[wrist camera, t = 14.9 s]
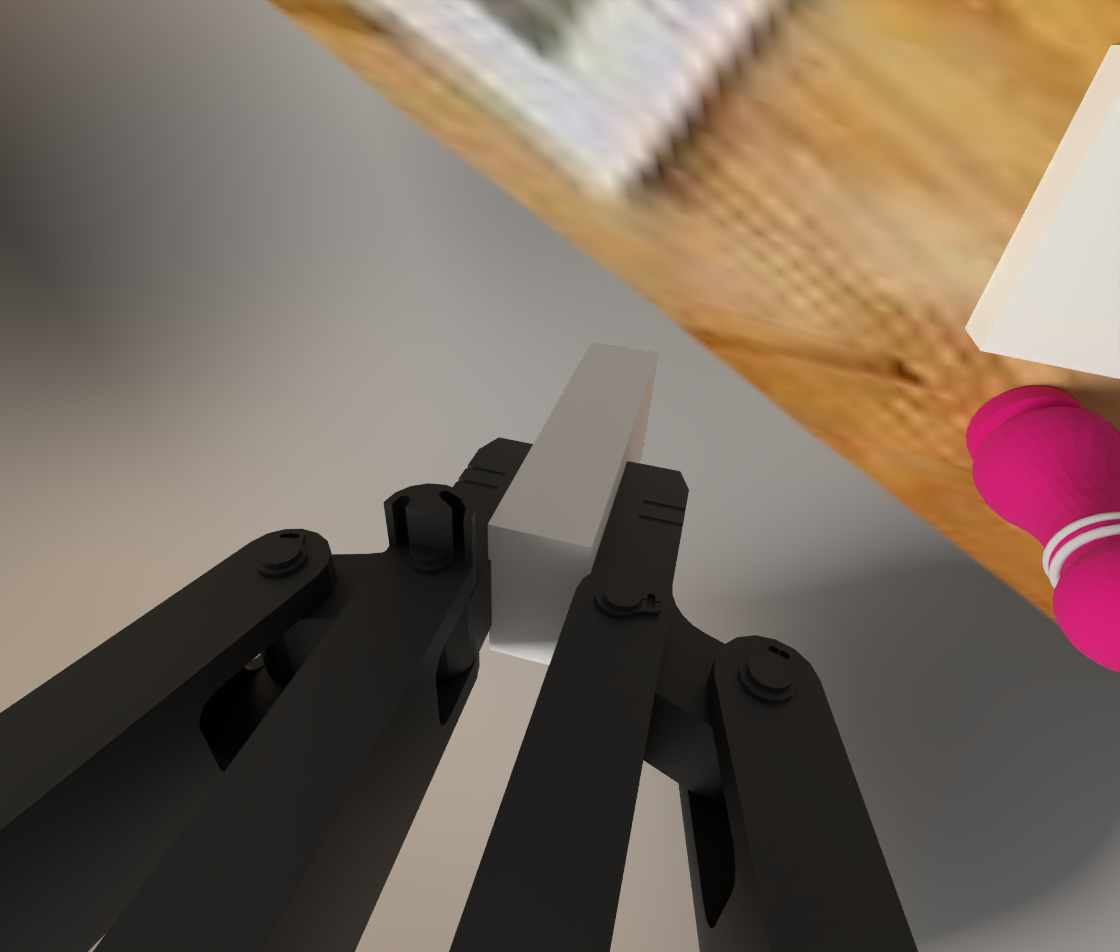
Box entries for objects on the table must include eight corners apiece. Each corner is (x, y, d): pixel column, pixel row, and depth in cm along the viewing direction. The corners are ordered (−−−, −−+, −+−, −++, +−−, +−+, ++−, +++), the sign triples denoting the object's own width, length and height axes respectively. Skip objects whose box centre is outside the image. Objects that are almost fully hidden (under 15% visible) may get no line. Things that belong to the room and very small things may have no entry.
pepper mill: (1114, 380, 37) (1378, 632, 21) (1068, 482, 41) (1261, 761, 25) (974, 374, 39) (1119, 602, 23) (943, 473, 43) (1048, 726, 27)
